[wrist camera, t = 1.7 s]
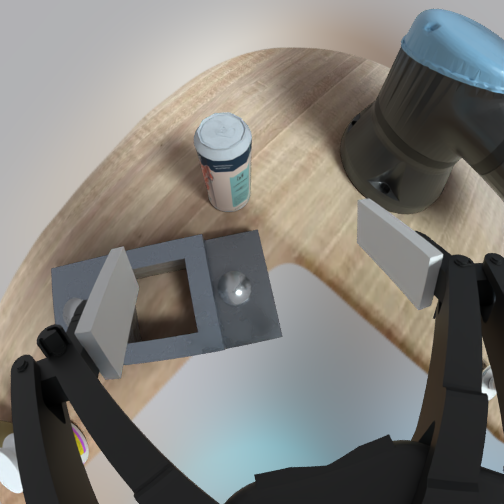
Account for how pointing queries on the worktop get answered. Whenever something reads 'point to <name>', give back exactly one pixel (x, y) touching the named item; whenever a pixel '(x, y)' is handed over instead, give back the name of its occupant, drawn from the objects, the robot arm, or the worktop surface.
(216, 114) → the beer can
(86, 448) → the supplement bottle
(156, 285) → the worktop surface
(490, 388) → the screw
